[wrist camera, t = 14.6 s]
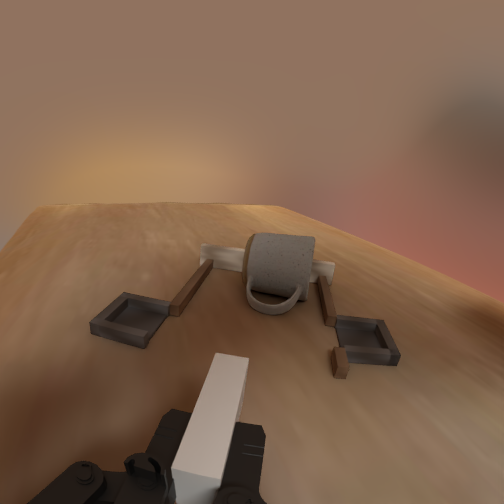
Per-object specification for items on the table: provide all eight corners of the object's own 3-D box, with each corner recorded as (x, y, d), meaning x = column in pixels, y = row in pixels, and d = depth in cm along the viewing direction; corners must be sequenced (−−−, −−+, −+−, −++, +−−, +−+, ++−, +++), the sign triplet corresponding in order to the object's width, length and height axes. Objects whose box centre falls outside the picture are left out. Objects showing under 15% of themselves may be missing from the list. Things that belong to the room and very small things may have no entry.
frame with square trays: (359, 285, 45) (363, 266, 44) (405, 385, 23) (417, 357, 22) (173, 258, 47) (174, 238, 46) (90, 333, 25) (87, 304, 24)
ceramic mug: (249, 275, 44) (256, 221, 42) (308, 286, 43) (318, 231, 40) (229, 310, 34) (236, 242, 32) (304, 324, 33) (317, 256, 31)
